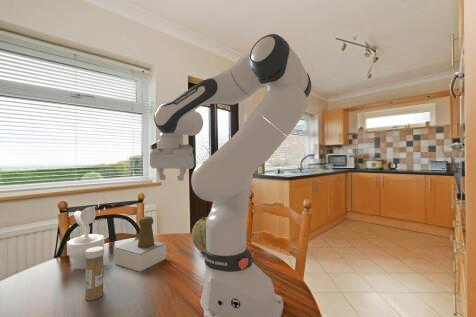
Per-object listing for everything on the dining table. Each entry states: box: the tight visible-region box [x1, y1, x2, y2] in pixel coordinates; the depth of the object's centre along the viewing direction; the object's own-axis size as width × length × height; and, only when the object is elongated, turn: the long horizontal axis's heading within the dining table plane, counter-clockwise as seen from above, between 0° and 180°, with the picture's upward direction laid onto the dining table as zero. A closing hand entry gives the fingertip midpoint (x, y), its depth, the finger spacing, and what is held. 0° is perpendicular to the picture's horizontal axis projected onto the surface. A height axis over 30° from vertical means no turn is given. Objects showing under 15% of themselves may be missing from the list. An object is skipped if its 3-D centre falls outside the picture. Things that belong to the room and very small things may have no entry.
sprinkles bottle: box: [84, 246, 105, 301], centre depth 64 cm, size 5×5×13 cm
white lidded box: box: [114, 238, 167, 272], centre depth 87 cm, size 14×12×6 cm
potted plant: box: [66, 199, 106, 271], centre depth 83 cm, size 13×12×25 cm
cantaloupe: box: [191, 216, 208, 253], centre depth 96 cm, size 15×15×15 cm
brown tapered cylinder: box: [137, 215, 155, 248], centre depth 87 cm, size 6×6×11 cm
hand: (171, 180), depth 88 cm, fingers open, 8 cm apart
